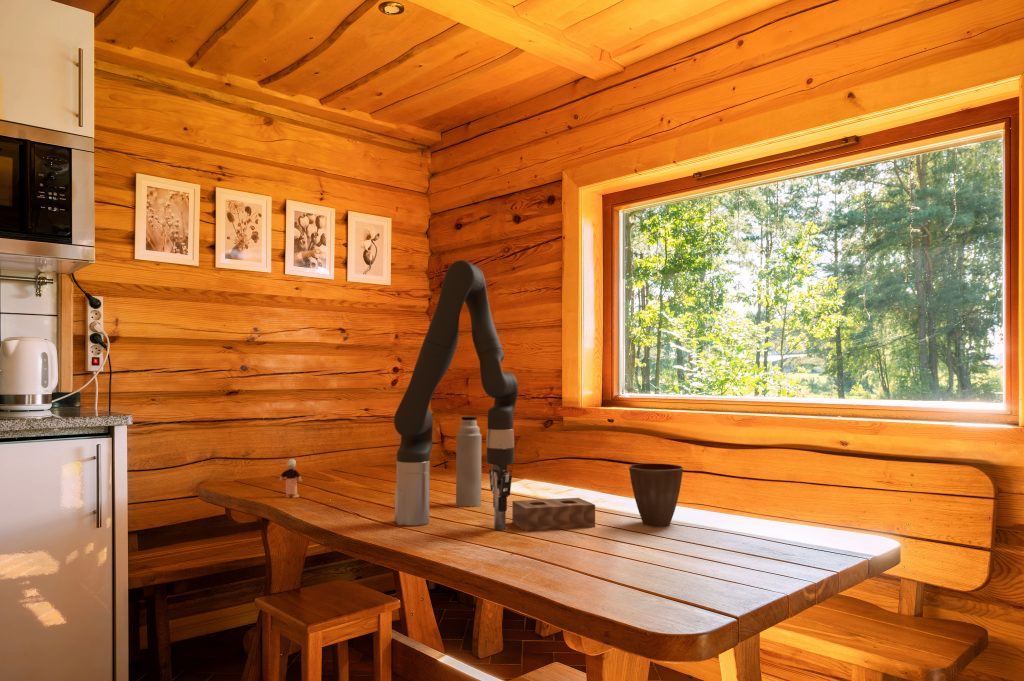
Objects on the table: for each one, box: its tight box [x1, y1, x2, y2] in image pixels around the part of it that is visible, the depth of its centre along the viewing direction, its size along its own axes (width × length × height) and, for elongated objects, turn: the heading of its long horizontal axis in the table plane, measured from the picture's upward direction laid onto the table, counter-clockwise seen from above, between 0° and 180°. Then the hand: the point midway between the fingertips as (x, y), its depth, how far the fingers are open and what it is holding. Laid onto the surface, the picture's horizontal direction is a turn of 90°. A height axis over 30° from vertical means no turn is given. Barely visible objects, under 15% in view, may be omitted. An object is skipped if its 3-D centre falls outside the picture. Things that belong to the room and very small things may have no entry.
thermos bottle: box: [455, 416, 483, 508], centre depth 240 cm, size 8×8×28 cm
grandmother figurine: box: [278, 458, 303, 499], centre depth 253 cm, size 8×4×13 cm, turn 94°
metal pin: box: [493, 484, 507, 531], centre depth 202 cm, size 3×3×14 cm
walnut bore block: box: [511, 497, 596, 532], centre depth 209 cm, size 20×12×6 cm, turn 107°
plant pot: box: [628, 463, 684, 527], centre depth 211 cm, size 15×15×16 cm
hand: (499, 509), depth 202 cm, fingers open, 4 cm apart
